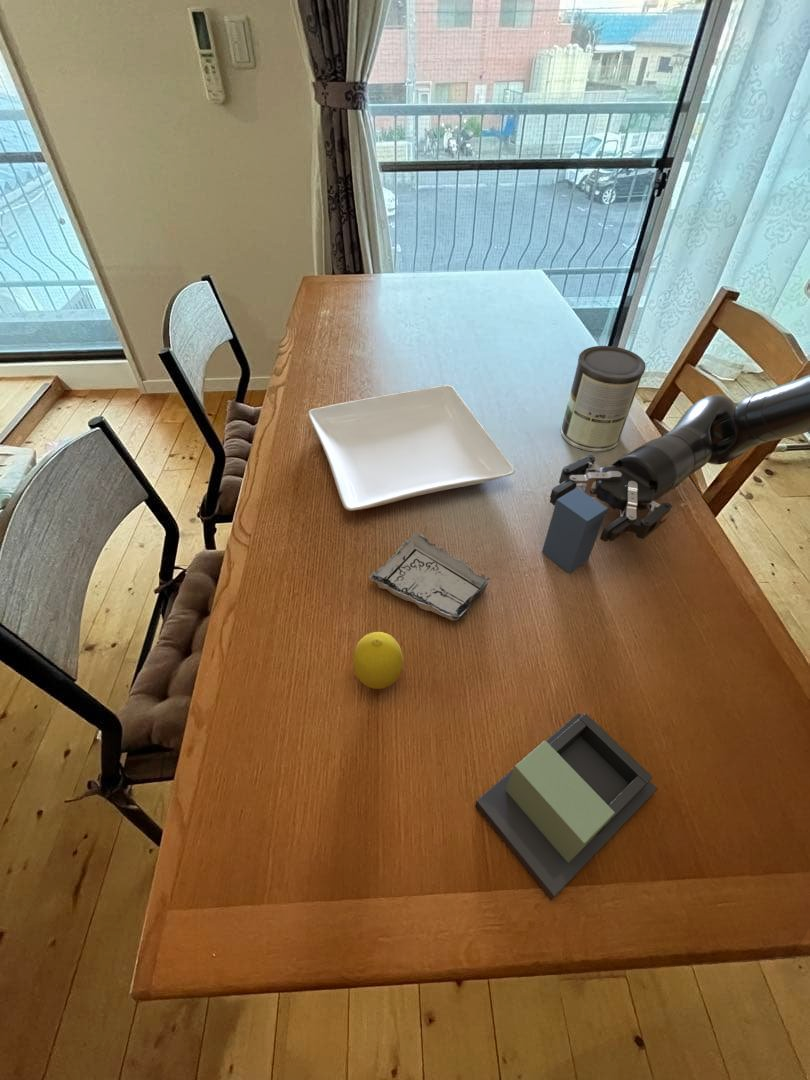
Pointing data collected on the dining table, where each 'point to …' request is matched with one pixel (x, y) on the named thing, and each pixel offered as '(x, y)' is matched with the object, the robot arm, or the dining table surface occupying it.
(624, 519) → the robot arm
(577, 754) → the seat frame
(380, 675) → the lemon
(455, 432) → the square plate
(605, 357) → the coffee can
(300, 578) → the dining table surface
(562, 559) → the blue rectangular block
